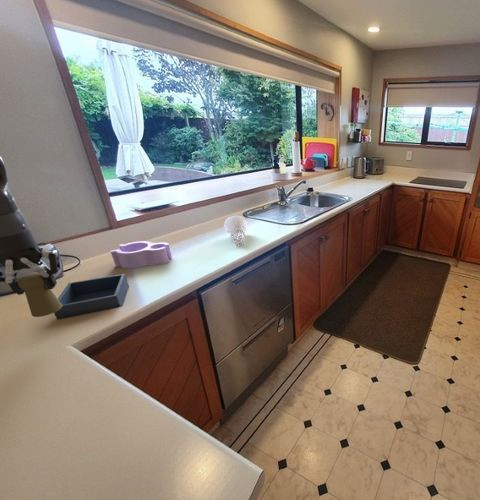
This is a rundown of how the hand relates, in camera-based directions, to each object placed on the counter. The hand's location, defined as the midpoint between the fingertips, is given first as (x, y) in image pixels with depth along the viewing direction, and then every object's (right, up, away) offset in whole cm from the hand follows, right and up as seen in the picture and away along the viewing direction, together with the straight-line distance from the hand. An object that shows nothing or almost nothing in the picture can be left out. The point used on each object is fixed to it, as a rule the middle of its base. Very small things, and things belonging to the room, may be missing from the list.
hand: (37, 290), depth 74 cm
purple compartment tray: (-8, +6, +50) cm, 50 cm away
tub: (-4, -7, +22) cm, 23 cm away
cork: (0, -6, +3) cm, 7 cm away
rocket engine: (+22, +16, +74) cm, 79 cm away
